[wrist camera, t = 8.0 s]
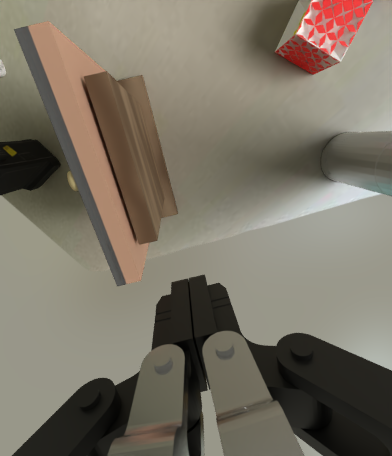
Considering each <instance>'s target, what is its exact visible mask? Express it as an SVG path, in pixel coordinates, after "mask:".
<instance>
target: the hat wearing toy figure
mask: <svg viewBox="0 0 392 456" xmlns="http://www.w3.org/2000/svg"><path fill="white" fill-rule="evenodd" d="M5 75H6V69H5V67H4V65H3V62H2V61H1V60H0V77H4V76H5Z"/></svg>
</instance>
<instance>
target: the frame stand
mask: <svg viewBox="0 0 392 456" xmlns="http://www.w3.org/2000/svg"><path fill="white" fill-rule="evenodd" d="M84 80H85V83H86V86H87V89H88V92H89V95H90V98H91V101H92V104H93V107H94V110H95V113H96V116H97V119H98V122H99V125H100V128H101V131H102V134H103V137H104V140H105V143H106V146H107V149H108V152H109V155H110V159H111V162H112V165H113V168H114V171H115V174H116V177H117V180H118V183H119V186H120V189H121V192H122V195H123V198H124V201H125V204H126V207H127V210H128V213H129V216H130V219H131V222H132V225H133V228H134V231H135V234H136V237H137V240H138V243H139V245H141V244H145V243H149V242H154V241H157V239H158V234H159V228H160V222H161V218H163V217H167V216H171V215H176V214H178V211H177V207H176V203H175V199H174V195H173V192H172V188H171V184H170V180H169V176H168V172H167V168H166V164H165V160H164V156H163V153H162V149H161V145H160V141H159V137H158V133H157V129H156V125H155V121H154V118H153V114H152V110H151V106H150V102H149V98H148V94H147V90H146V86H145V83H144V79H143V76H142V75H141V76H136V77H132V78H128V79H124V80H119V81H116V80H115V79H114V78H113V77H112V76H111V75H110V74H109V73H108V72H107V71H105V72H101V73H96V74H92V75H88V76H84Z"/></svg>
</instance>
